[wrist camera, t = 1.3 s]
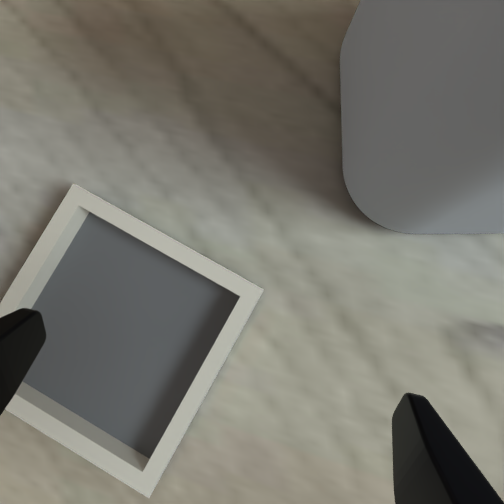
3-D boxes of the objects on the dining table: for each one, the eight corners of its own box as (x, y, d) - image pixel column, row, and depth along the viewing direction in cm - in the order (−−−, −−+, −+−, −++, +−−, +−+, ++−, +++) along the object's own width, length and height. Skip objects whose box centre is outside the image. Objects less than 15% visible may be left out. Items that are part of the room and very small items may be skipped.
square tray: (158, 479, 22) (149, 498, 20) (-20, 370, 23) (-46, 378, 21) (263, 289, 23) (264, 289, 21) (88, 191, 24) (73, 183, 22)
